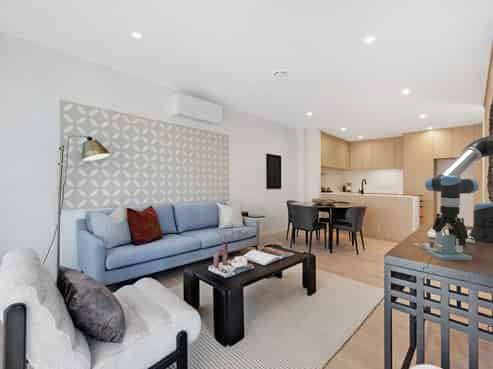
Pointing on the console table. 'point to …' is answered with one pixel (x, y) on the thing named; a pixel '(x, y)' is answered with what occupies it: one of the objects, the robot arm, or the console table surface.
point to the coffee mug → (453, 234)
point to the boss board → (430, 246)
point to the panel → (448, 257)
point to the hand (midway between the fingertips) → (448, 247)
